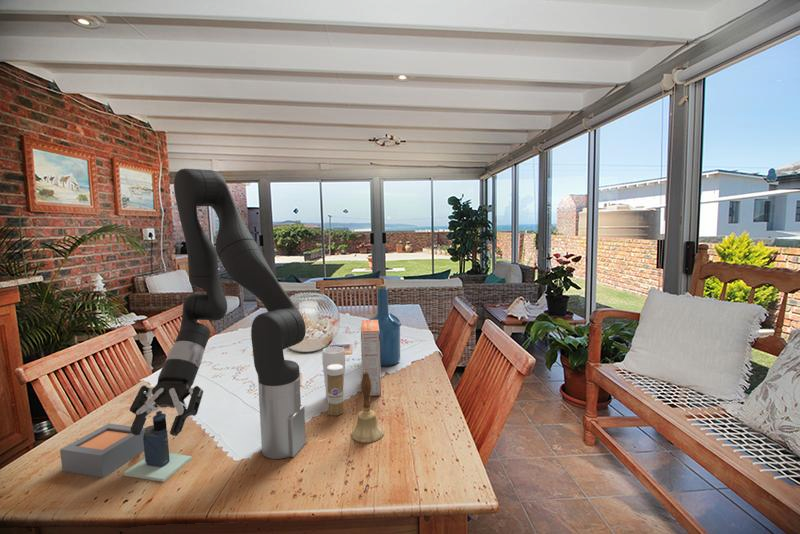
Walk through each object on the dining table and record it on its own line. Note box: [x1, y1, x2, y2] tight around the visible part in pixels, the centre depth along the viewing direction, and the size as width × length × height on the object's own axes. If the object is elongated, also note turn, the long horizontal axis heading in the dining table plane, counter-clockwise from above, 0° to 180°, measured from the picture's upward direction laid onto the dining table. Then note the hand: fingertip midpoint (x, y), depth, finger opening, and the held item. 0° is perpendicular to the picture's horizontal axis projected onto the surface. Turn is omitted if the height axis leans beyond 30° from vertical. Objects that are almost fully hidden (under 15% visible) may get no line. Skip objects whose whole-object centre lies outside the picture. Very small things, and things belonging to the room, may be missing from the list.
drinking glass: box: [321, 346, 346, 399], centre depth 116 cm, size 7×7×15 cm
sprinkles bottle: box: [327, 364, 345, 416], centre depth 107 cm, size 5×5×13 cm
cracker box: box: [360, 319, 382, 397], centre depth 123 cm, size 14×6×21 cm, turn 5°
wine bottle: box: [368, 284, 402, 367], centre depth 146 cm, size 14×13×30 cm
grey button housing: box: [59, 423, 146, 478], centre depth 86 cm, size 11×11×5 cm
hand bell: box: [350, 372, 385, 444], centre depth 96 cm, size 8×8×16 cm
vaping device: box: [143, 410, 170, 467], centre depth 83 cm, size 3×5×12 cm, turn 78°
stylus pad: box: [123, 452, 193, 483], centre depth 84 cm, size 10×8×1 cm
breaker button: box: [79, 431, 130, 450], centre depth 86 cm, size 7×7×3 cm
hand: (154, 434), depth 82 cm, fingers open, 8 cm apart
